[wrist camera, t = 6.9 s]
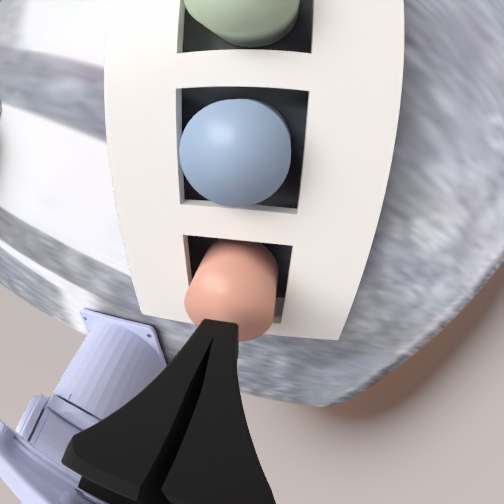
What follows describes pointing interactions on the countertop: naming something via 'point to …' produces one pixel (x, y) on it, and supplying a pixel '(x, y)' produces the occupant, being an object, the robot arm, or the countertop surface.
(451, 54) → the countertop surface
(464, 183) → the countertop surface
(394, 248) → the countertop surface
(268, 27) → the sage green button
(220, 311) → the terracotta button
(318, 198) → the button panel
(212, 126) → the slate blue button
